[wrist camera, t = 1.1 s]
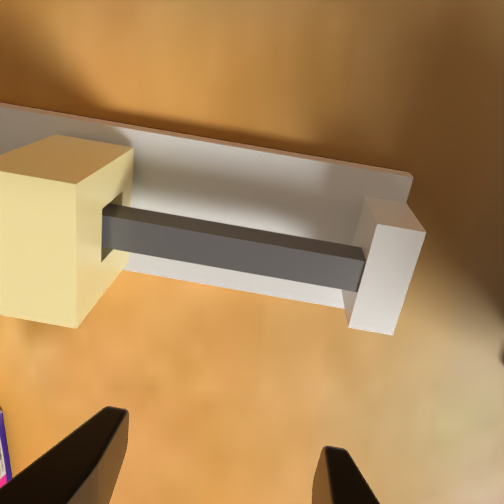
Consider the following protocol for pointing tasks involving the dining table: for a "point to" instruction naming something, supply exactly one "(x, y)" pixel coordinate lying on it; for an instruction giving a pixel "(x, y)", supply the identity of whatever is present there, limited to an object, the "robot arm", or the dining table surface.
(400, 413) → the dining table surface
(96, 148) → the sleeve
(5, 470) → the supplement box
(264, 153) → the linear slide rail
